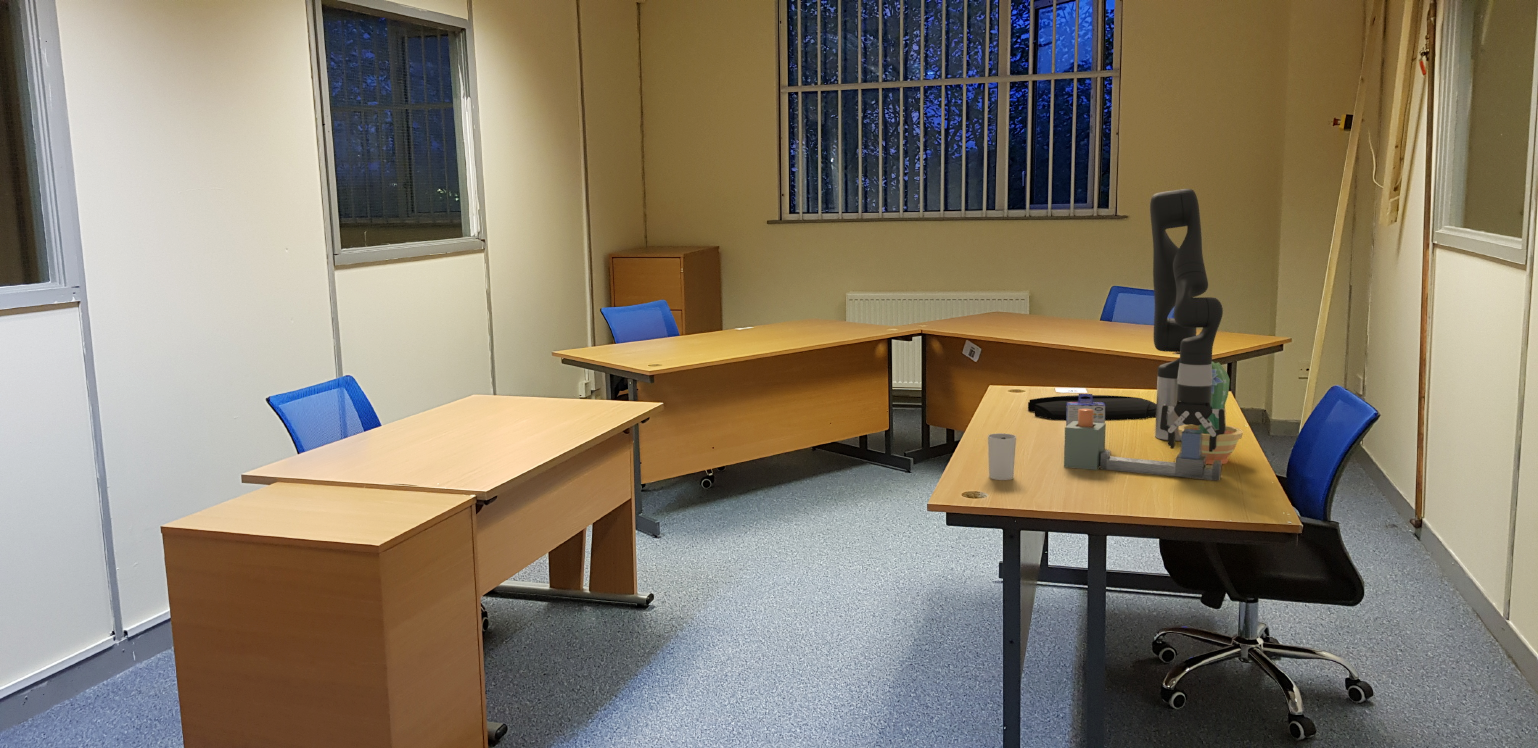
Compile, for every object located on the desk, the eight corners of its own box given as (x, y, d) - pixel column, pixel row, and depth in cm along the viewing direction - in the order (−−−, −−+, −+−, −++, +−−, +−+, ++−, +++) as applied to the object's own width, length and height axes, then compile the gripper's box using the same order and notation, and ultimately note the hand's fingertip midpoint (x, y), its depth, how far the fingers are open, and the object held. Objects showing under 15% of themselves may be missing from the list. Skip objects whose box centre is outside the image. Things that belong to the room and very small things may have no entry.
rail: (1103, 465, 263) (1104, 449, 263) (1220, 477, 251) (1221, 460, 250) (1100, 469, 260) (1100, 453, 259) (1218, 480, 247) (1219, 464, 247)
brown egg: (1079, 433, 266) (1080, 408, 265) (1094, 434, 264) (1094, 409, 263) (1076, 435, 263) (1076, 410, 262) (1091, 437, 261) (1091, 411, 260)
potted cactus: (1162, 457, 271) (1166, 360, 268) (1208, 451, 277) (1212, 356, 274) (1209, 470, 257) (1214, 368, 254) (1256, 463, 263) (1261, 364, 260)
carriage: (1179, 468, 256) (1180, 427, 255) (1205, 471, 253) (1207, 430, 252) (1175, 474, 250) (1176, 433, 249) (1202, 477, 248) (1204, 435, 246)
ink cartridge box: (1102, 446, 285) (1104, 393, 283) (1105, 450, 279) (1106, 396, 277) (1064, 445, 287) (1066, 392, 285) (1066, 449, 281) (1067, 396, 279)
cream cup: (984, 473, 257) (985, 433, 256) (1012, 473, 257) (1013, 433, 255) (989, 480, 250) (990, 439, 249) (1018, 480, 250) (1018, 439, 249)
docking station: (1175, 420, 319) (1176, 404, 319) (1040, 422, 320) (1041, 406, 319) (1146, 406, 344) (1147, 390, 343) (1022, 407, 344) (1022, 392, 344)
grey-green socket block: (1072, 459, 270) (1073, 420, 269) (1104, 462, 267) (1105, 423, 265) (1063, 466, 263) (1064, 427, 261) (1096, 470, 259) (1098, 430, 257)
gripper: (1229, 381, 248) (1225, 449, 251) (1165, 378, 255) (1162, 443, 258) (1225, 386, 242) (1222, 455, 244) (1160, 382, 249) (1157, 450, 251)
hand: (1191, 449), depth 251 cm, fingers open, 8 cm apart
